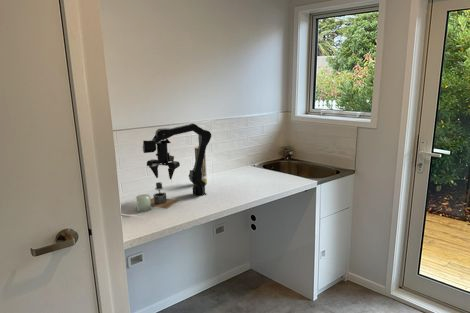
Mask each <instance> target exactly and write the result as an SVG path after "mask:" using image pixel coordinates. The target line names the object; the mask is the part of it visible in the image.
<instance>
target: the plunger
mask: <svg viewBox="0 0 470 313" xmlns="http://www.w3.org/2000/svg"><path fill="white" fill-rule="evenodd" d="M154 189H155V190H156V191H158V193H159V195H161V193H162V192H161V191H162V190H164V187H163V183H162V182H160V181H158V182H156V183H155V188H154Z"/></svg>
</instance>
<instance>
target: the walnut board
mask: <svg viewBox="0 0 470 313" xmlns="http://www.w3.org/2000/svg"><path fill="white" fill-rule="evenodd" d="M166 199H167V203H165V204H160V205H157V204H154V197H152V198H150V202H151V208H161V209H169V208H171V207H172V206H174V205H176V204H178V203H179V202H181V201H182V200H181V199H173V198H166Z"/></svg>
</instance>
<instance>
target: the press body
mask: <svg viewBox="0 0 470 313" xmlns="http://www.w3.org/2000/svg"><path fill="white" fill-rule="evenodd" d="M160 193H161V195H159V192H158V193H154V194H153V197H152V198H154V204H157V205H160V204H165V203H167V199H168V198H167V193H166V192H160Z"/></svg>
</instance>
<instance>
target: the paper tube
mask: <svg viewBox="0 0 470 313" xmlns="http://www.w3.org/2000/svg"><path fill="white" fill-rule="evenodd" d="M198 147H199V145H195V146H194V158H195V159H194V161H195V160H196V156H197V151H198ZM206 161H207V159H206V153H205V155H204V159H203V164H202V169H201V172H202V181H203V182H205V183H206V184H205V185H207V183H208V180H207V179H208V178H207V176H208V175H207V162H206Z"/></svg>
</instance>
